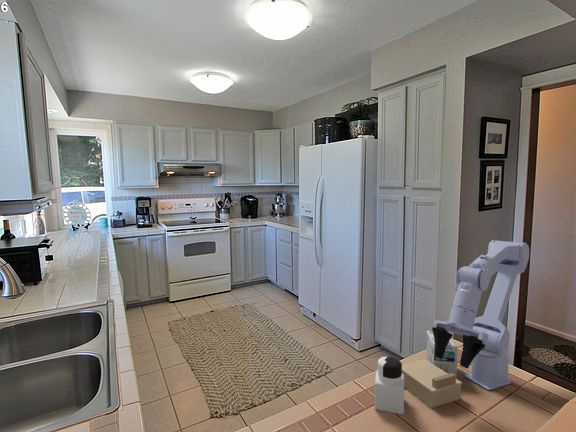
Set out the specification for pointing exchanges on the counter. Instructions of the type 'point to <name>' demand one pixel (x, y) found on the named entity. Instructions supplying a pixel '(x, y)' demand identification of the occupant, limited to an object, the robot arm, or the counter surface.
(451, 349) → the light bulb box
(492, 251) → the robot arm
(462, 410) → the counter surface
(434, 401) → the base
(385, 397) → the medicine bottle
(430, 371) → the mailer lid
